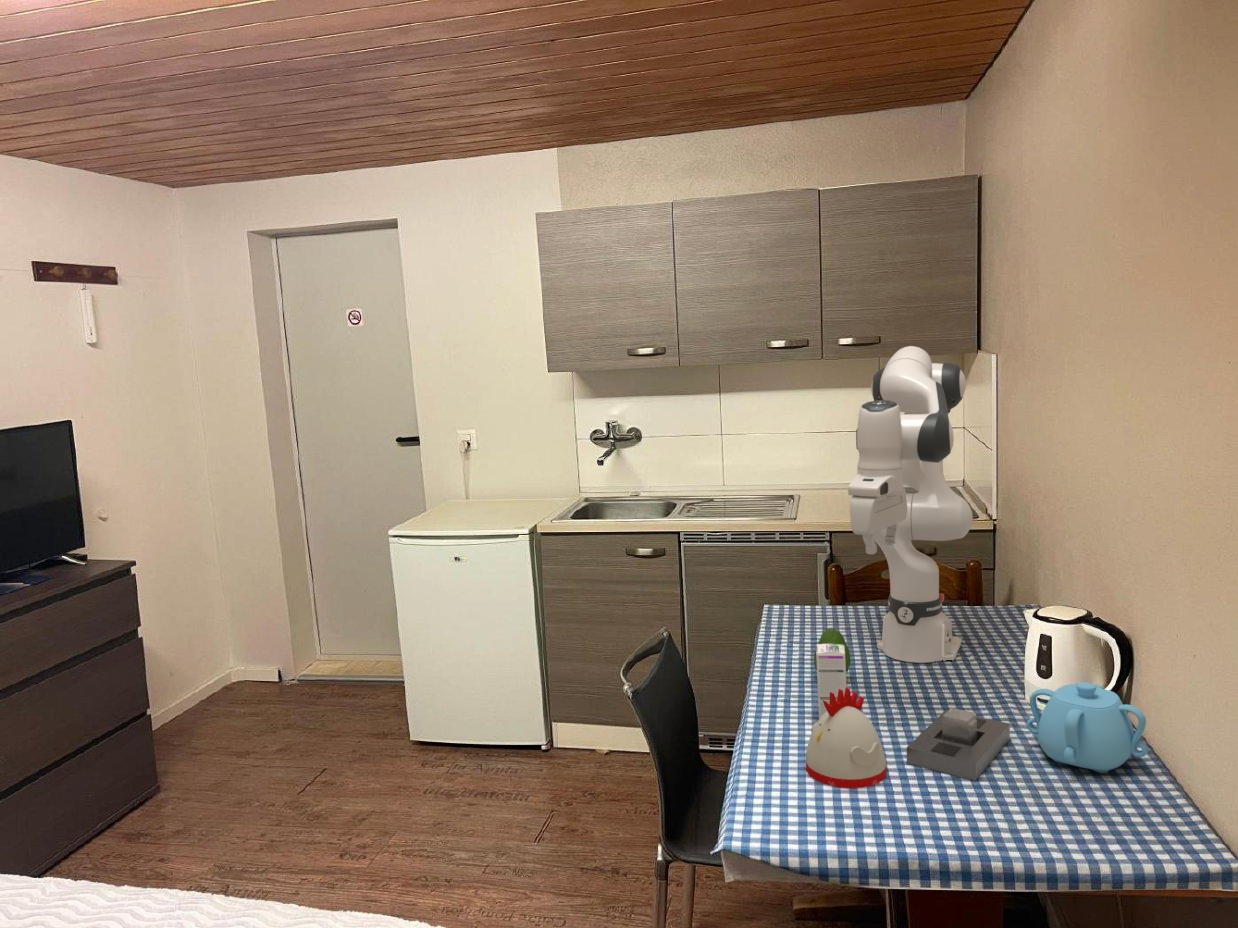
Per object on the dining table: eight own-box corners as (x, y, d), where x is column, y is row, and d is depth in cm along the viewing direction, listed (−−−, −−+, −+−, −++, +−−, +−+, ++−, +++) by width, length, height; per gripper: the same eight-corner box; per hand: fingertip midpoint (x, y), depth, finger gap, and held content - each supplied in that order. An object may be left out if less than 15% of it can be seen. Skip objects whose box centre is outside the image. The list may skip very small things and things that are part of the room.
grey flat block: (945, 724, 177) (945, 709, 177) (1009, 738, 170) (1009, 722, 169) (906, 763, 162) (906, 746, 161) (975, 780, 154) (975, 763, 154)
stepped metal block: (949, 743, 169) (949, 707, 168) (978, 749, 166) (978, 713, 165) (940, 751, 166) (940, 715, 165) (970, 759, 162) (970, 721, 161)
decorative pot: (1156, 779, 152) (1159, 701, 150) (1058, 780, 153) (1060, 703, 151) (1109, 738, 168) (1111, 667, 167) (1020, 739, 169) (1022, 669, 167)
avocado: (836, 688, 198) (835, 635, 197) (807, 680, 204) (806, 628, 203) (857, 679, 203) (857, 627, 202) (828, 671, 209) (827, 620, 208)
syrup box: (848, 723, 180) (847, 652, 178) (817, 721, 181) (816, 651, 179) (846, 711, 186) (845, 643, 184) (817, 710, 187) (816, 642, 185)
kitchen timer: (790, 762, 164) (788, 683, 162) (852, 746, 169) (851, 669, 168) (837, 795, 151) (836, 709, 150) (903, 777, 157) (902, 694, 155)
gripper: (885, 474, 192) (886, 538, 194) (843, 487, 177) (845, 557, 178) (914, 475, 188) (915, 540, 190) (874, 489, 173) (875, 560, 174)
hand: (880, 548), depth 184 cm, fingers open, 8 cm apart
